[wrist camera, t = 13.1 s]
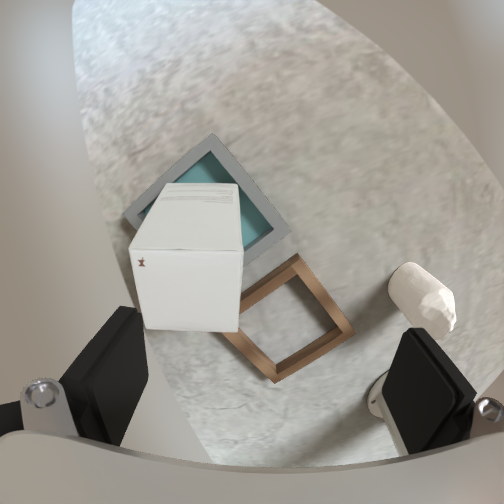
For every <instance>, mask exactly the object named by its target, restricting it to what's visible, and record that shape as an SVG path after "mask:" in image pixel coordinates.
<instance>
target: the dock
mask: <svg viewBox="0 0 504 504" xmlns="http://www.w3.org/2000/svg"><path fill="white" fill-rule="evenodd" d="M166 183H228V184H237V185H238V191H239V203H240V219H241V234H242V244H243V249H244V258H243V267H244V266H246V265H247V264H248V263H250V262H251V261H252V260H254V259H255V258H256V257H258V256H259V255H261V254H262V253H263V252H265V251H266V250H267V249H269V248H270V247H271V246H273V245H274V244H275V243H277V242H278V241H279V240H281V239H282V238H283V237H285V236H286V235H287V234H289V233H290V232H291V230H290V228H289V226H288V225H287V224H286V222H285V221H284V220H283V218H282V217H281V216H280V214H279V213H278V212H277V211H276V209H275V208H274V207H273V205H272V204H271V203H270V202H269V200H268V199H267V198H266V197H265V195H264V194H263V193H262V192H261V190H260V189H259V188H258V186H257V185H256V184H255V183H254V181H253V180H252V179H251V178H250V176H249V175H248V174H247V173H246V172H245V170H244V169H243V168H242V167H241V165H240V164H239V163H238V162H237V160H236V159H235V158H234V157H233V156H232V154H231V153H230V152H229V151H228V150H227V148H226V147H225V146H224V145H223V143H222V142H221V141H220V140H219V139H218V137H217V136H216V135H215V134H213V133H212V134H210V135H209V136H208V137H207V138H205V139H204V140H203V141H202V142H201V143H199V144H198V145H197V146H196V147H195V148H193V149H192V150H191V151H190V152H189V153H187V154H186V155H185V156H184V157H183V158H182V159H181V160H179V161H178V162H177V163H176V164H175V165H174V166H173V167H171V168H170V169H169V170H168V171H167V172H166V173H165V174H164V175H163V176H161V177H160V178H159V179H158V180H157V181H156V182H155V183H154V184H153V185H152V186H151V187H150V188H149V189H147V190H146V191H145V192H144V193H143V194H142V195H141V196H140V197H139V198H138V199H137V200H136V201H135V202H134V203H133V204H132V205H131V206H130V207H129V208H128V209H127V210H126V211H125V212H124V213H123V215H124V216H125V218H126V219H127V220H128V221H129V222H130V224H131V225H132V226H133V227H134V228H135V230H136V231H138V229H139V228H140V226H141V224H142V223H143V221H144V219H145V218H146V216H147V214H148V212H149V211H150V209H151V207H152V206H153V204H154V202H155V201H156V199H157V198H158V196H159V194H160V193H161V191H162V189H163V188H164V186H165V185H166Z"/></svg>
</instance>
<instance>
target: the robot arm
mask: <svg viewBox="0 0 504 504" xmlns="http://www.w3.org/2000/svg"><path fill="white" fill-rule="evenodd" d="M147 381H148V366H147V359H146V351H145V341H144V331H143V320H142V314H141V313H138V312H137V309H136V308H131V307H125V306H120V307H119V308H118V309H117V310H116V311H115V312H114V314H113V315H112V316H111V317H110V318H109V319H108V320H107V322H106V323H105V324H104V325H103V326H102V328H101V329H100V330H99V331H98V333H97V334H96V335H95V336H94V337H93V339H91V340H90V342H89V343H88V344H87V345H86V347H85V348H84V349H83V350H82V352H81V353H80V354H79V355H78V357H77V358H76V359H75V361H74V362H73V363H72V364H71V365H70V367H69V368H68V369H67V371H66V372H65V373H64V374H63V376H62V377H61V378H60V380H59V381H56V380H53V379H51V378H38V379H34V380H32V381H30V382H28V383H27V384H26V385H25V386H24V387H23V389H22V391H21V393H20V401H16V402H11V403H7V404H3V405H0V504H504V406H503V405H502V404H501V403H500V402H499V401H497V400H495V399H493V398H489V397H482V398H480V399H478V400H477V401H476V403H475V402H474V401H473V399H474V397H475V396H476V394H477V392H476V391H475V390H474V388H473V387H472V386H471V385H470V383H469V382H468V381H467V379H466V378H465V377H464V376H463V374H462V373H461V372H460V371H459V369H458V368H457V367H456V366H455V364H454V363H453V362H452V361H451V359H450V358H449V357H448V356H447V355H446V353H445V352H444V351H443V350H442V349H441V347H440V346H439V345H438V344H437V343H436V341H435V340H434V339H433V338H432V337H431V336H430V334H429V333H428V332H427V331H426V330H425V329H424V328H409V329H408V330H407V331H406V332H404V333H403V335H402V338H401V341H400V343H399V346H398V349H397V351H396V354H395V357H394V359H393V362H392V364H391V367H390V369H389V371H388V372H387V373H385V374H384V375H383V376H382V377H381V378H380V379H379V380H378V381H377V382H376V383H375V384H374V386H373V387H372V389H371V390H370V392H369V395H368V398H367V404H368V408H369V410H370V412H371V413H372V414H373V415H374V416H376V417H379V418H384V421H385V423H386V425H387V428H388V430H389V432H390V435H391V437H392V440H393V442H394V444H395V447H396V449H397V452H398V454H399V457H396V458H391V459H385V460H379V461H372V462H365V463H357V464H348V465H338V466H325V467H305V468H262V467H241V466H228V465H218V464H208V463H200V462H193V461H186V460H180V459H174V458H169V457H164V456H158V455H153V454H148V453H143V452H139V451H134V450H130V449H126V448H122V447H120V444H121V442H122V439H123V437H124V435H125V432H126V430H127V427H128V425H129V423H130V420H131V418H132V416H133V413H134V411H135V409H136V406H137V404H138V402H139V400H140V397H141V395H142V393H143V390H144V388H145V386H146V384H147Z"/></svg>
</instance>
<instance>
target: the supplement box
mask: <svg viewBox="0 0 504 504" xmlns="http://www.w3.org/2000/svg"><path fill="white" fill-rule="evenodd" d="M128 251H129V256H130V261H131V266H132V270H133V275H134V280H135V284H136V290H137V294H138V299H139V303H140V308H141V312H142V316H143V320H144V324H145V328H146V329H154V330H175V331H198V332H238V322H239V309H240V296H241V284H242V271H243V258H244V249H243V244H242V234H241V219H240V203H239V191H238V185H237V184H228V183H166V185H165V186H164V188H163V189H162V191H161V193H160V194H159V196H158V198H157V199H156V201H155V202H154V204H153V206H152V207H151V209H150V211H149V212H148V214H147V216H146V218H145V219H144V221H143V223H142V224H141V226H140V228H139V229H138V231H137V233H136V235H135V237H134V238H133V240H132V242H131V244H130V245H129V247H128Z"/></svg>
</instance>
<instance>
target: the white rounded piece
mask: <svg viewBox="0 0 504 504" xmlns="http://www.w3.org/2000/svg"><path fill="white" fill-rule="evenodd" d="M388 293H389V296H390V298H391V299H392V301H393V302H394V303H395V304H396V305H397V307H398V308H399V309H400V311H401V312H402V313H403V314H404V316H405V317H406V318H407V320H408V321H409V322H410V324H411V325H412V326H413V327H414V328H424V329H425V330H426V331H427V332H428V333H429V334H430V336H431V337H432V338H433V339H434V340H439V339H440V340H443V339H444V338H446V335H447V333H450V332H451V330H452V329H453V325H454V324H455V322H456V314H455V303H454V296H453V293H452V292H451V291H450V290H449V289H448V288H447V287H446V286H444V285H443V284H442V283H441V282H439V281H438V280H437V279H436V278H434V277H433V276H432V275H431V274H429V273H428V272H427V271H425V270H424V269H423V268H421V267H420V266H419V265H417V264H416V263H413V262H407V263H405V264H403V265H401V266H400V267H399V268H398V269H397V270H396V271H395V272H394V274H393V275H392V277H391V279H390V281H389V284H388Z"/></svg>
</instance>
